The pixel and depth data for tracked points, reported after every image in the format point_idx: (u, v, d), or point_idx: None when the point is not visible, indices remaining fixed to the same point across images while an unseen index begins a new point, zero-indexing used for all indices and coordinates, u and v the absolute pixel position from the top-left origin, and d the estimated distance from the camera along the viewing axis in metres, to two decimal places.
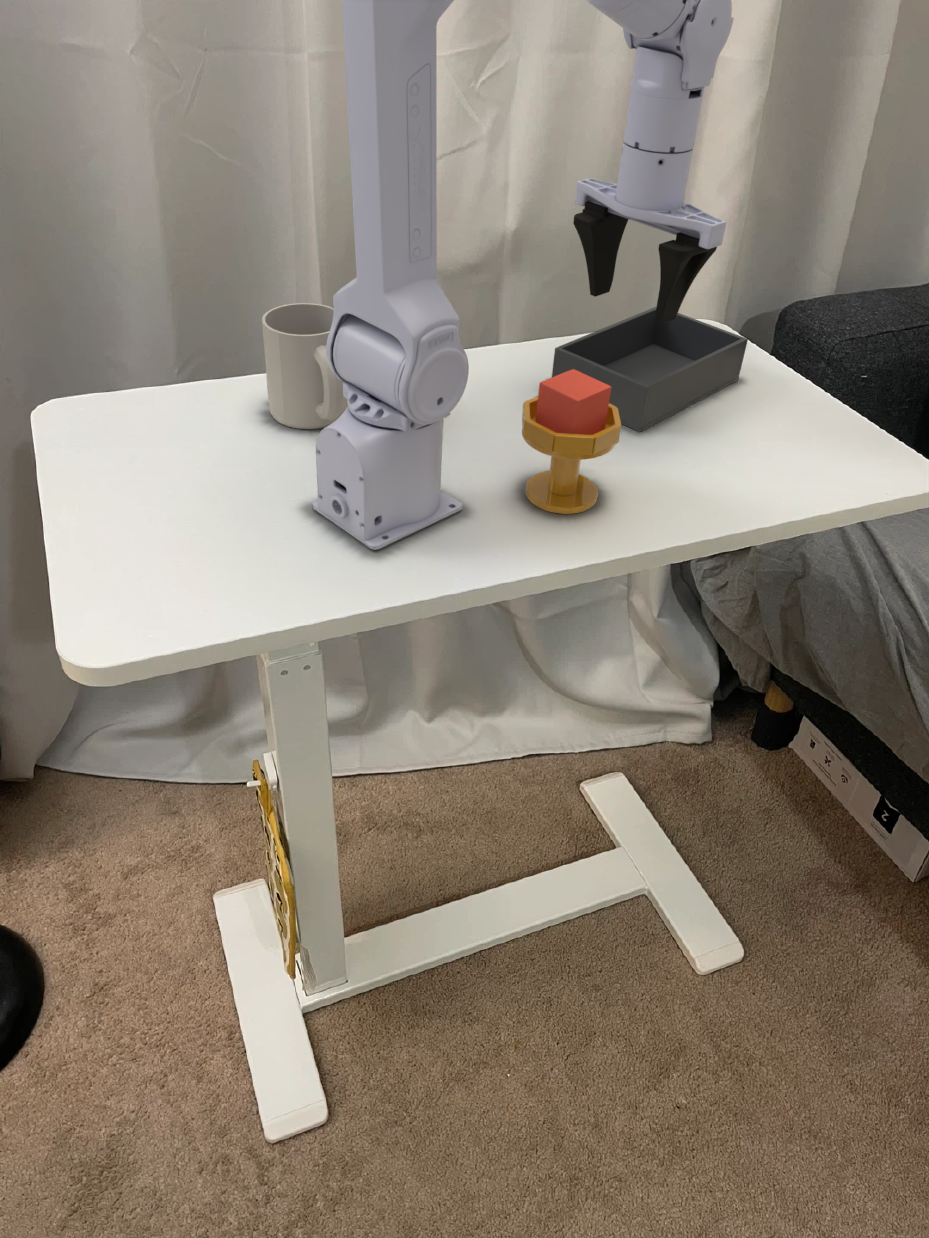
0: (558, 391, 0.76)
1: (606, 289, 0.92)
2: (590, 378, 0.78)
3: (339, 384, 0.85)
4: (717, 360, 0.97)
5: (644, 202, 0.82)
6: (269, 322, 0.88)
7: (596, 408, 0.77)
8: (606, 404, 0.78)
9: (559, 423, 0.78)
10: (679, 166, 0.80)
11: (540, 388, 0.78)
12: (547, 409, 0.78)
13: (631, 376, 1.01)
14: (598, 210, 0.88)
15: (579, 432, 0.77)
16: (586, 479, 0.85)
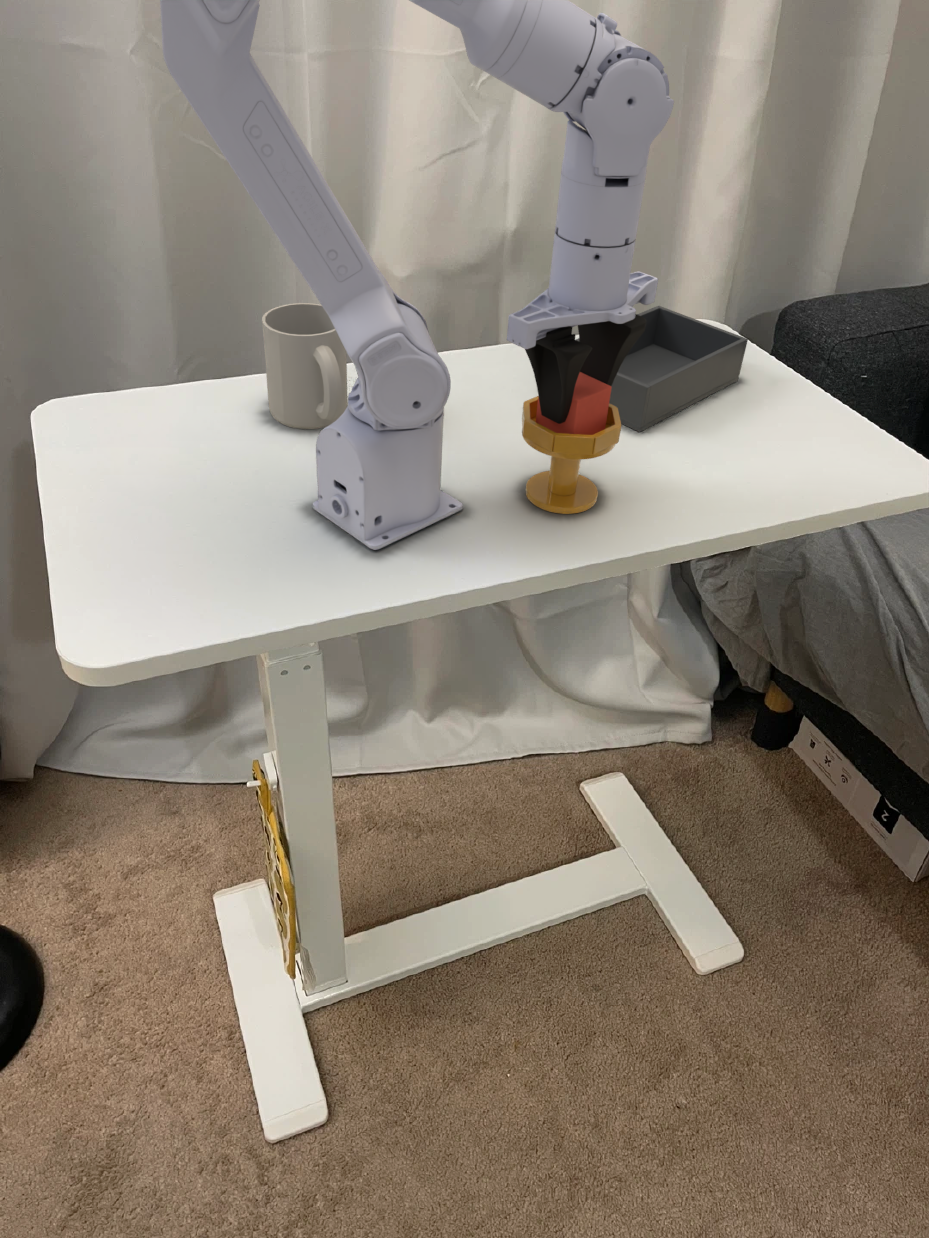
0: None
1: None
2: (590, 378, 0.78)
3: (339, 384, 0.85)
4: (717, 360, 0.97)
5: None
6: (269, 322, 0.88)
7: (596, 408, 0.77)
8: (606, 404, 0.78)
9: None
10: (561, 254, 0.70)
11: None
12: None
13: (631, 376, 1.01)
14: None
15: (579, 432, 0.77)
16: (586, 479, 0.85)
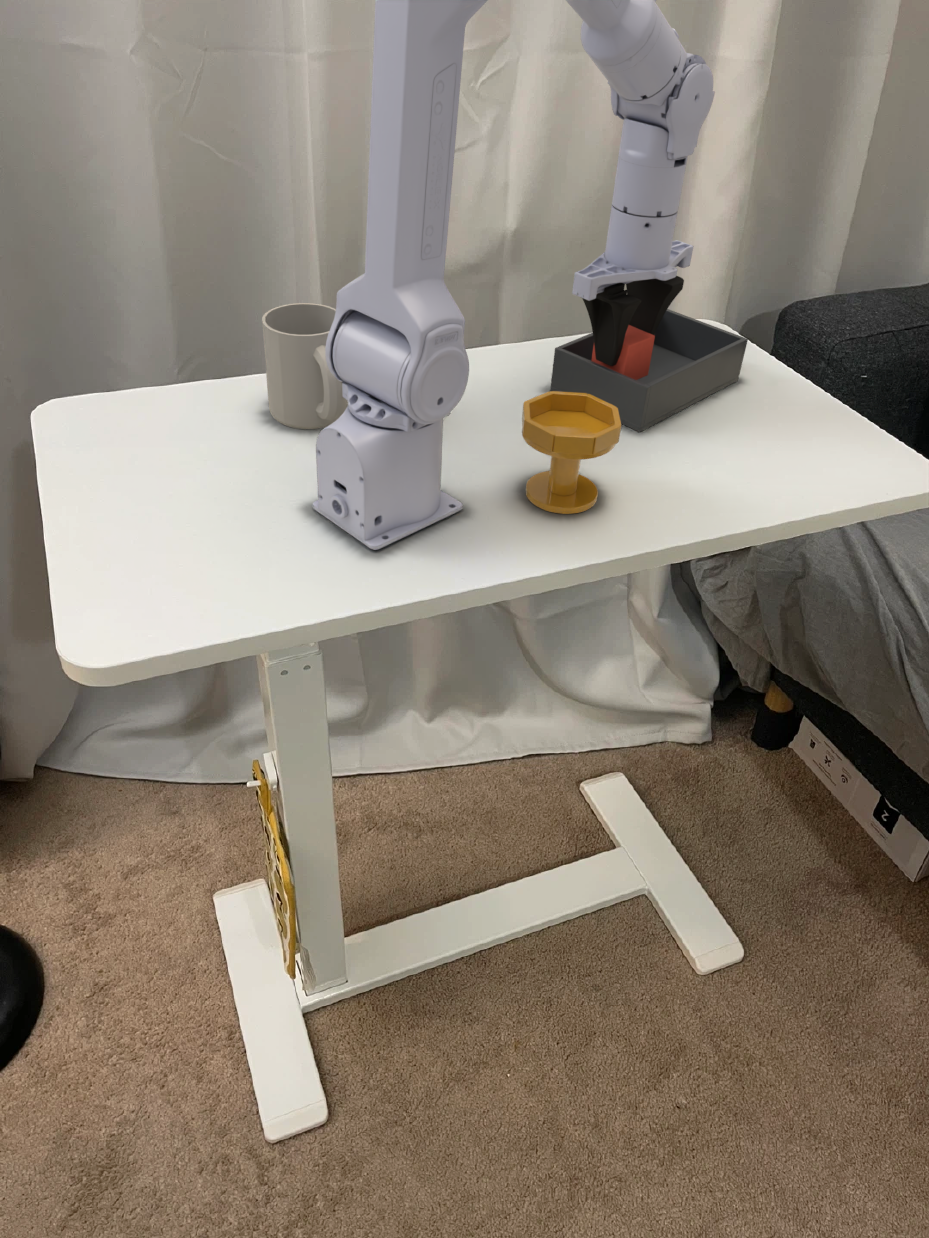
0: None
1: None
2: (637, 329, 0.94)
3: (339, 384, 0.85)
4: (717, 360, 0.97)
5: None
6: (269, 322, 0.88)
7: (642, 353, 0.93)
8: (650, 351, 0.94)
9: (611, 366, 0.93)
10: (617, 223, 0.85)
11: None
12: None
13: None
14: None
15: (628, 373, 0.93)
16: (586, 479, 0.85)
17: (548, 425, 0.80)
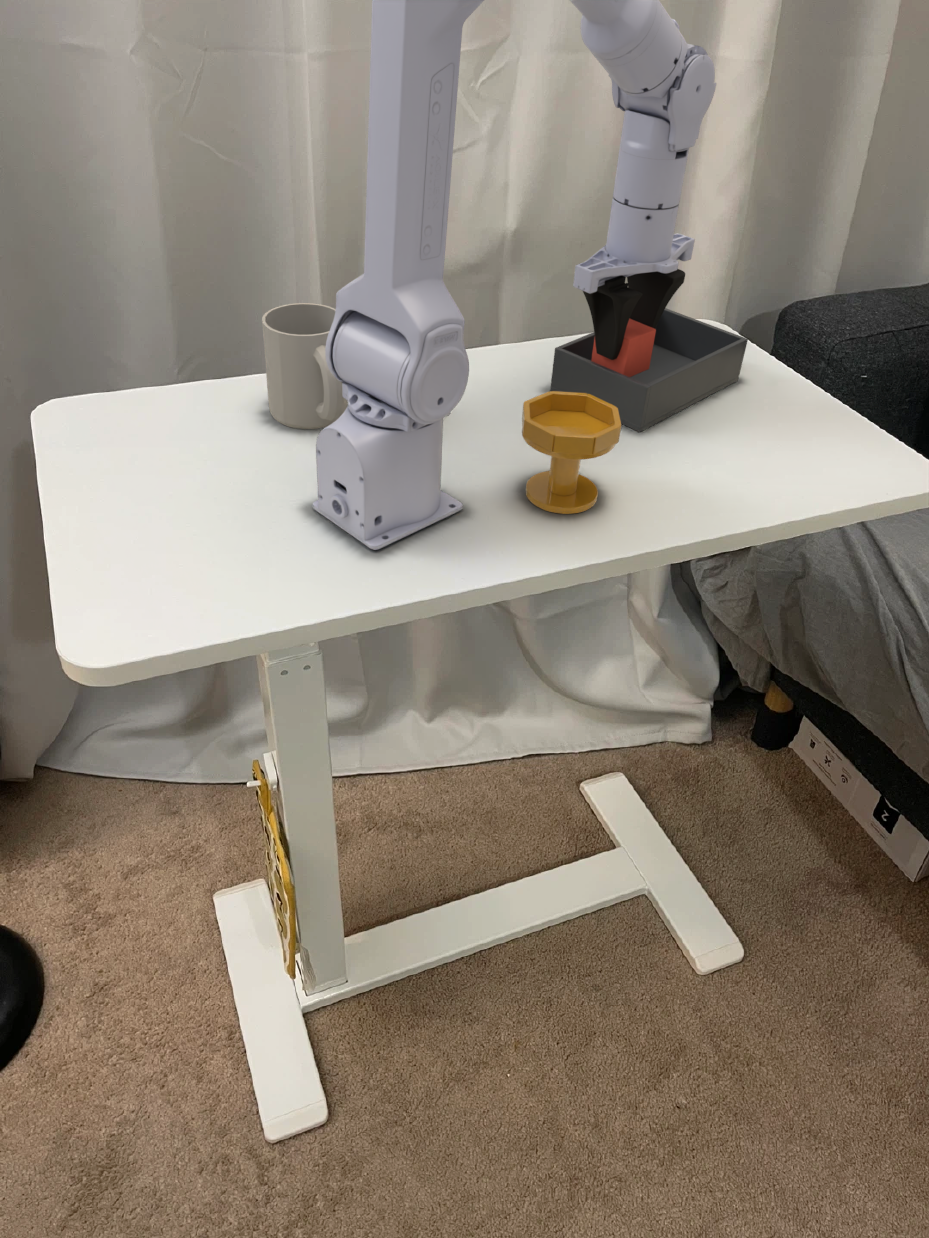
0: None
1: None
2: (638, 323, 0.94)
3: (339, 384, 0.85)
4: (717, 360, 0.97)
5: None
6: (269, 322, 0.88)
7: (643, 347, 0.93)
8: (651, 344, 0.94)
9: None
10: (618, 216, 0.85)
11: None
12: None
13: (631, 376, 1.01)
14: None
15: (629, 367, 0.93)
16: (586, 479, 0.85)
17: (548, 425, 0.80)
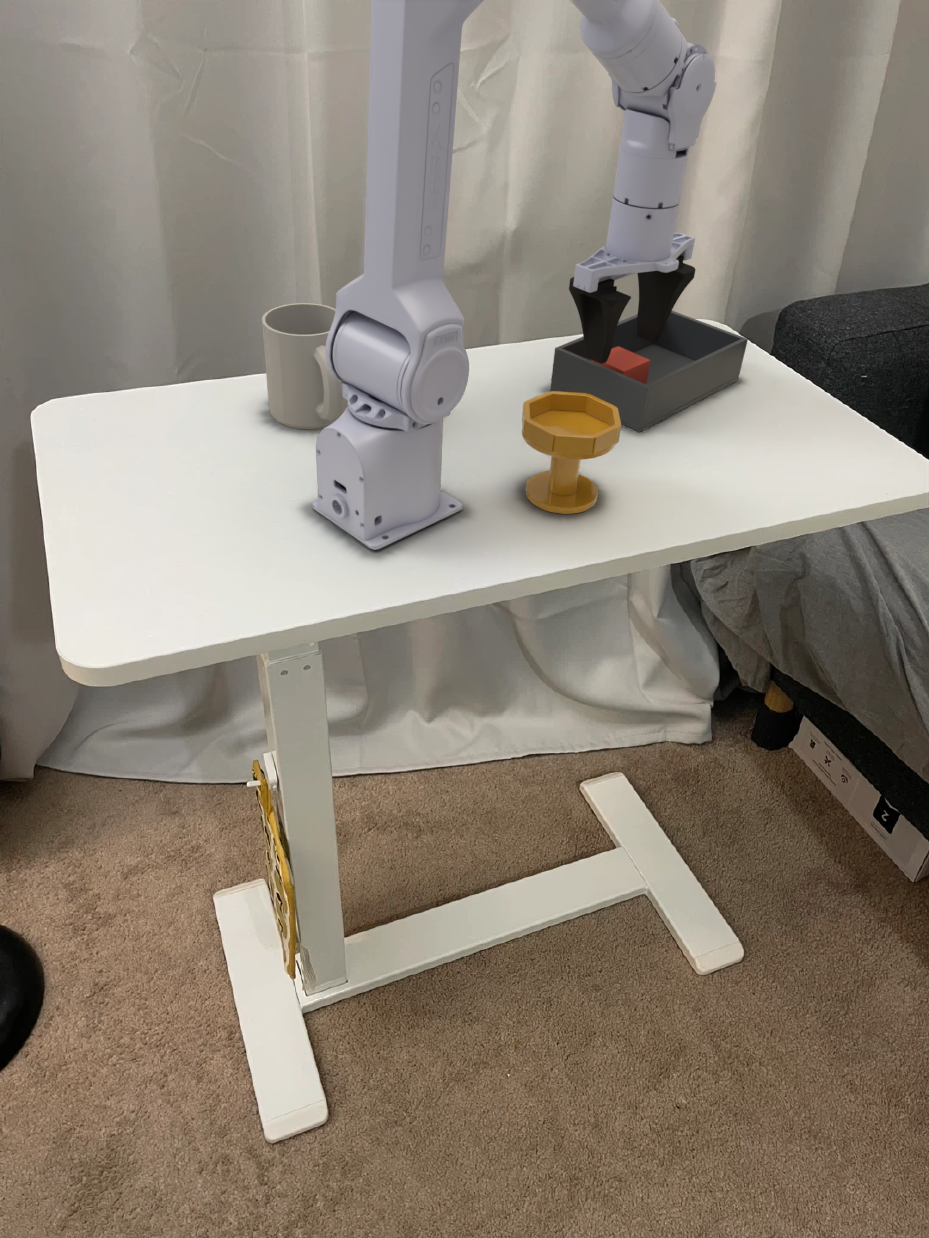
0: (607, 363, 0.94)
1: (649, 337, 0.96)
2: (632, 353, 0.96)
3: (339, 384, 0.85)
4: (717, 360, 0.97)
5: None
6: (269, 322, 0.88)
7: (638, 378, 0.95)
8: (646, 375, 0.96)
9: None
10: (619, 215, 0.85)
11: None
12: None
13: None
14: None
15: None
16: (586, 479, 0.85)
17: (548, 425, 0.80)
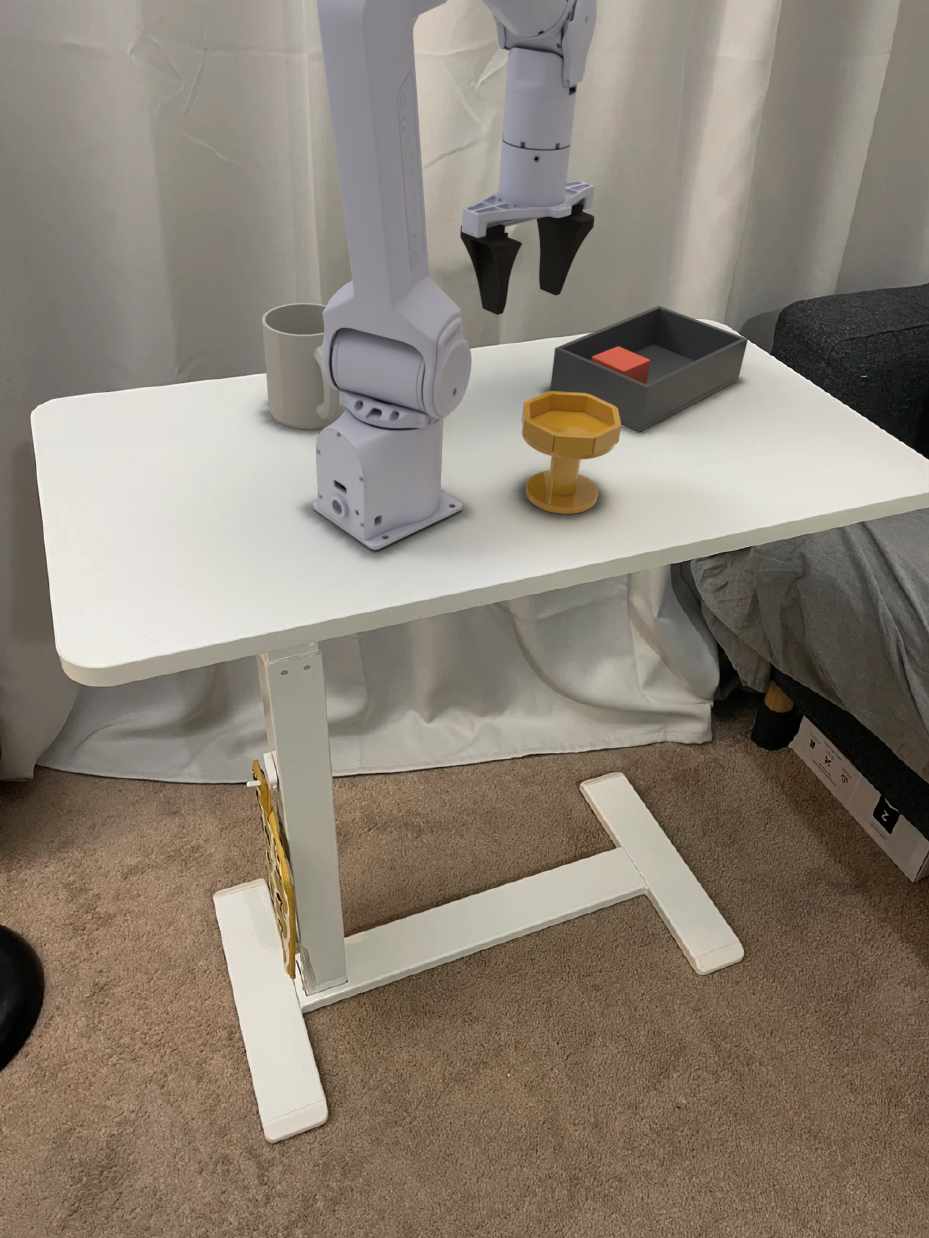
0: (607, 363, 0.94)
1: (551, 289, 0.93)
2: (632, 353, 0.96)
3: None
4: (717, 360, 0.97)
5: None
6: (269, 322, 0.88)
7: (638, 378, 0.95)
8: (646, 375, 0.96)
9: None
10: (507, 158, 0.82)
11: None
12: None
13: None
14: None
15: None
16: (586, 479, 0.85)
17: (548, 425, 0.80)
